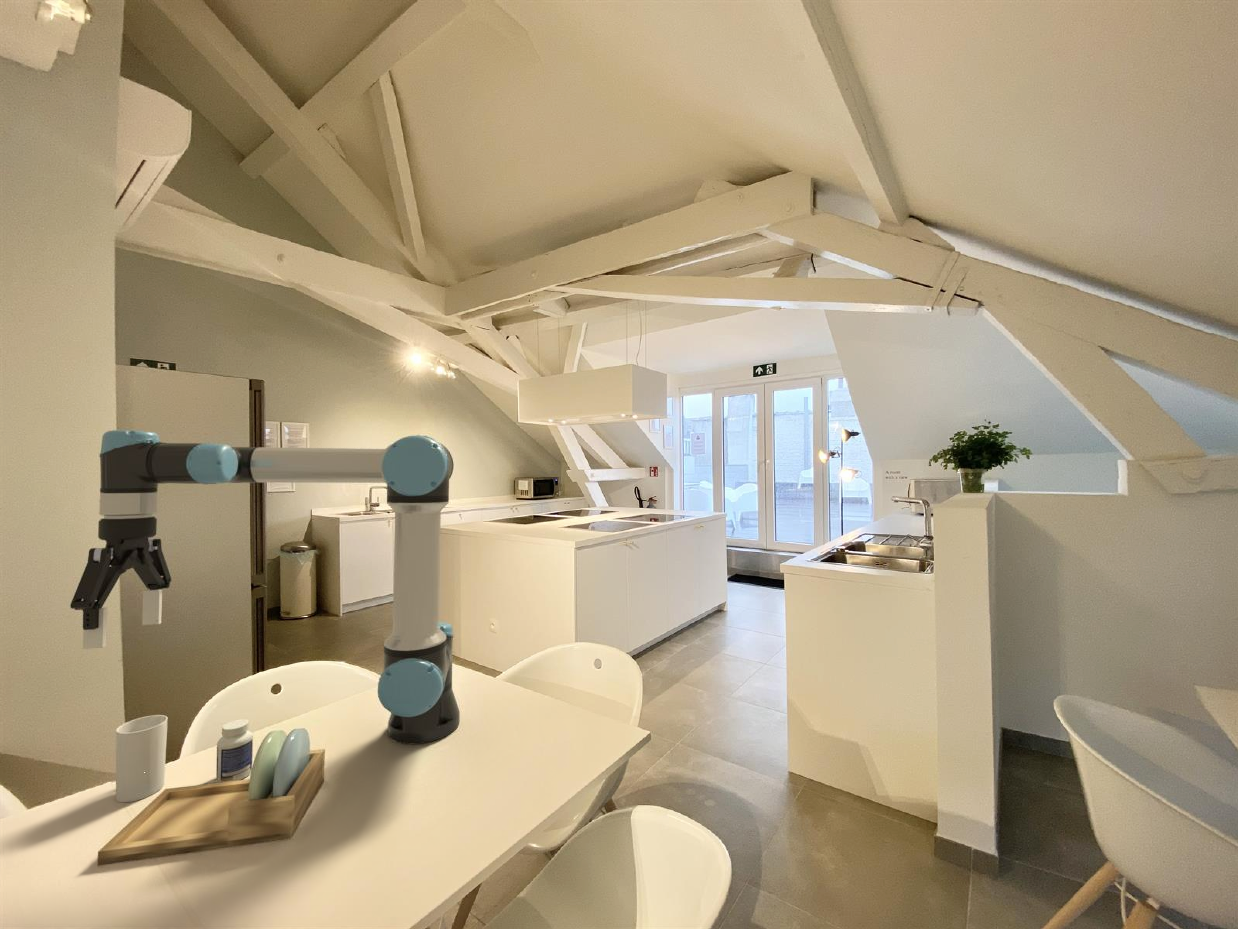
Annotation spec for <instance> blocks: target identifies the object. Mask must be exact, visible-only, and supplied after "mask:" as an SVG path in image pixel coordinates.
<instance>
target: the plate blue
mask: <svg viewBox="0 0 1238 929" xmlns="http://www.w3.org/2000/svg"><path fill="white" fill-rule="evenodd" d="M310 750H311V742H310V735H309V732H308V730H307V729H306V727H305V728H304V727H301V728H293V729H292V730H291V731H290V732H289V733H288V734H287V737H286V739H285V741H284V743H283V745H282V748H281V751H280V753H279V757H278V760H277V764H276V769H275V774H274V782H273V798H275V797H283V796H287V794H288V793H289V791H290V790H291V788H292V787H293V785H294V784H295V782H296V781H297V779H298V778H299V777H300V775H301V774H302V772H303V771H304V769H305V768H306V766H307V765H308V763H309V756H310Z"/></svg>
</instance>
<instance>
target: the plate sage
mask: <svg viewBox="0 0 1238 929" xmlns="http://www.w3.org/2000/svg"><path fill="white" fill-rule="evenodd" d="M287 736H288V734H287V733H286V731H284V729H283V730H281V729H280V730H272V731H270V732H268V733H267V734H266V735H265V736H264V738H263V739H262V741H261V743H260V745H259V746H258V749H257V752H256V754H255V757H254V760H253V762H252V770H251V773H250V774H249V775H250V776H249V779H250V781H249V792H248V798H249V801H250V800H259V799H267V798H268V796H269V795H270V794H271V792H272V791H273V782H274V774H275V769H276V764H277V760H278V757H279V753H280V751H281V748H282V745H283V743H284V741H285V739H286V737H287Z"/></svg>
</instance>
